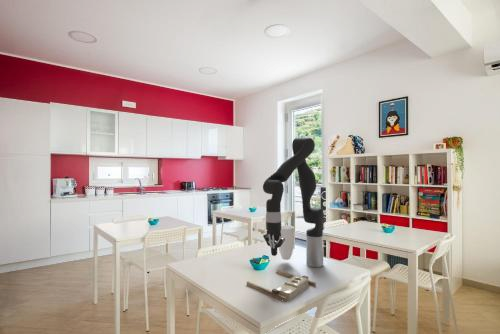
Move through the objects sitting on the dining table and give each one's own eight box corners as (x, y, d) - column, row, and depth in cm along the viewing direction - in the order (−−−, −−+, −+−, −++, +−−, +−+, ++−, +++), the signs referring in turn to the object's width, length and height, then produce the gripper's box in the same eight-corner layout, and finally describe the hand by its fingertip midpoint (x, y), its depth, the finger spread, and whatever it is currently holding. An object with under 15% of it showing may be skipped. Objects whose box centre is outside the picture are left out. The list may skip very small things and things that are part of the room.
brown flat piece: (278, 272, 152) (278, 266, 152) (316, 285, 135) (316, 279, 135) (246, 285, 136) (246, 278, 136) (284, 302, 118) (284, 295, 118)
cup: (296, 266, 161) (296, 229, 161) (278, 266, 161) (277, 228, 161) (293, 260, 171) (293, 225, 171) (276, 260, 172) (276, 225, 172)
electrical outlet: (275, 287, 125) (295, 274, 139) (275, 296, 125) (295, 283, 139) (290, 291, 120) (308, 278, 135) (290, 301, 120) (308, 286, 135)
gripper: (289, 221, 136) (289, 256, 137) (268, 217, 146) (269, 250, 146) (278, 223, 131) (279, 260, 131) (258, 219, 141) (259, 254, 141)
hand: (274, 255), depth 139 cm, fingers closed
